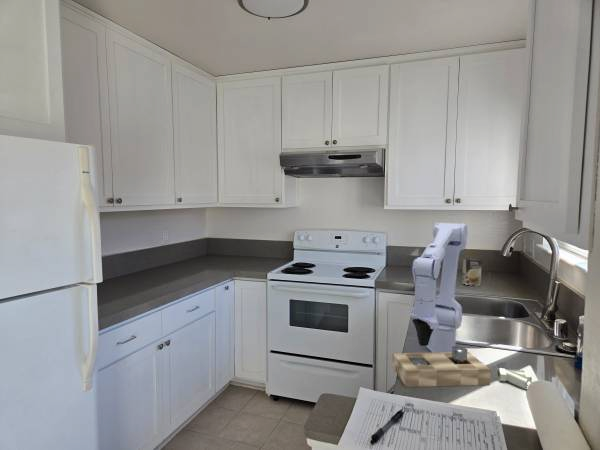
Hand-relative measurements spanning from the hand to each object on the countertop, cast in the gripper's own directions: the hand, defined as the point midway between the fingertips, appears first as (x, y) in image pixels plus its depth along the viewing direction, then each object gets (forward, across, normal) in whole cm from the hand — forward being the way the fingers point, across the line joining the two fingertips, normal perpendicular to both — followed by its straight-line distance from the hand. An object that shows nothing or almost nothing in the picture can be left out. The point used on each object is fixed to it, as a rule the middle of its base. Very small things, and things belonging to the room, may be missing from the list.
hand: (423, 344), depth 108 cm
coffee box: (+10, -114, +77) cm, 138 cm away
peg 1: (+9, 0, -1) cm, 9 cm away
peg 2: (+6, 0, +11) cm, 12 cm away
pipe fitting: (+10, +6, +24) cm, 27 cm away
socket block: (+9, 0, +5) cm, 11 cm away
